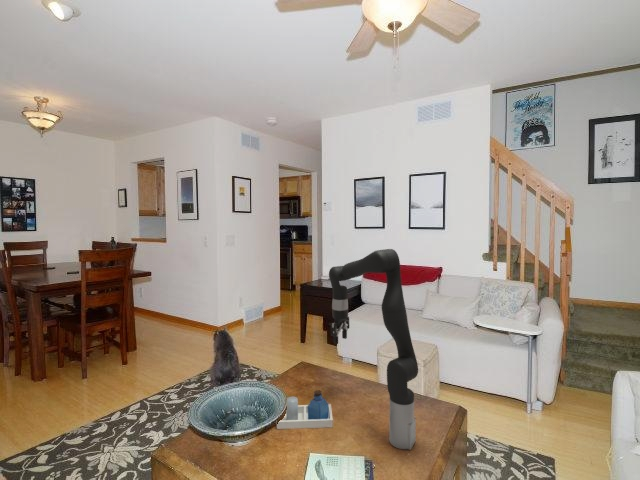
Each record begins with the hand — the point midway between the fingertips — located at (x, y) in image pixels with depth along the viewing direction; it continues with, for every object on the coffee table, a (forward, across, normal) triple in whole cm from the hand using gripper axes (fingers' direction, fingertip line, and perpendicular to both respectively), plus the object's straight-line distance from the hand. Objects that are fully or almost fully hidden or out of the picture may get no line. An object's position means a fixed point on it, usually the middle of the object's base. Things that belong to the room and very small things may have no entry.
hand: (340, 341), depth 164 cm
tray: (+28, -25, +3) cm, 38 cm away
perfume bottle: (+27, -22, -1) cm, 35 cm away
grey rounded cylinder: (+27, -28, +8) cm, 40 cm away
